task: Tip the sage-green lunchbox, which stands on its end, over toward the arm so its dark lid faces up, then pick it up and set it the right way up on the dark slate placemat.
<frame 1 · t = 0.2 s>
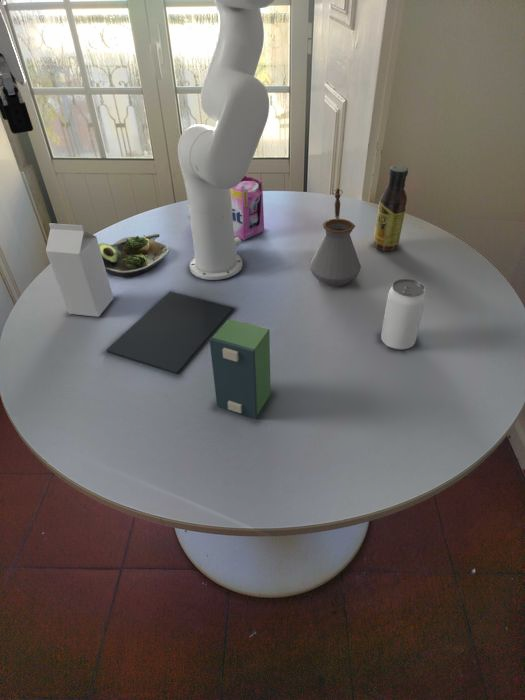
hand: (18, 124, 76), 37 cm above the table, tool pointing down, fingers open, 9 cm apart
sauce bottle: (385, 247, 118), on the table
lunchbox: (244, 400, 79), on the table
milk carton: (92, 307, 102), on the table
coffee pot: (333, 266, 112), on the table
can: (397, 340, 90), on the table
salad plate: (129, 260, 117), on the table
placemat: (173, 329, 94), on the table
gum box: (226, 224, 131), on the table
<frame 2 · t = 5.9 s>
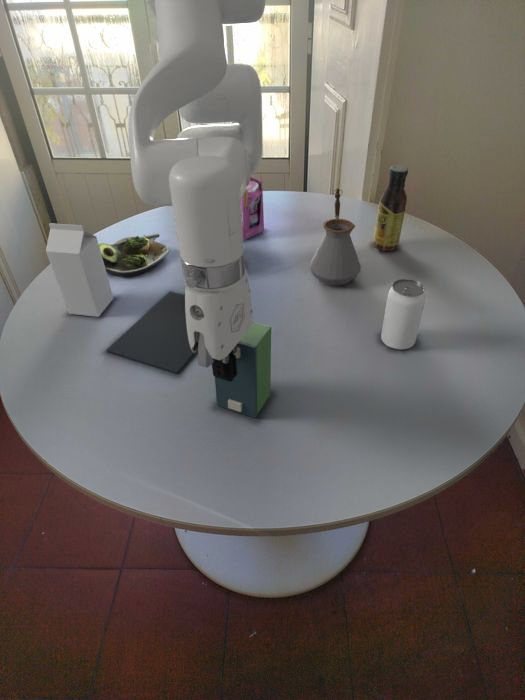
hand: (225, 375, 69), 10 cm above the table, tool pointing down, fingers closed
nothing on the table moved.
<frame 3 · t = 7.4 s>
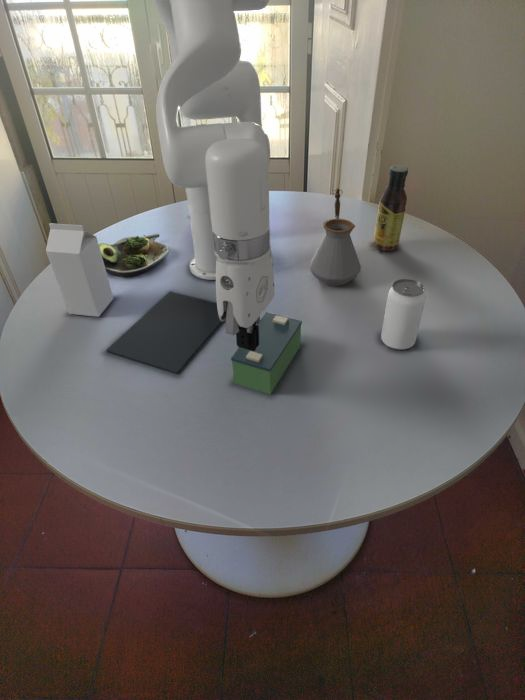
hand: (248, 345, 74), 10 cm above the table, tool pointing down, fingers closed
lunchbox: (251, 376, 79), point 3 cm above the table, tilted 90°
everything else where it was.
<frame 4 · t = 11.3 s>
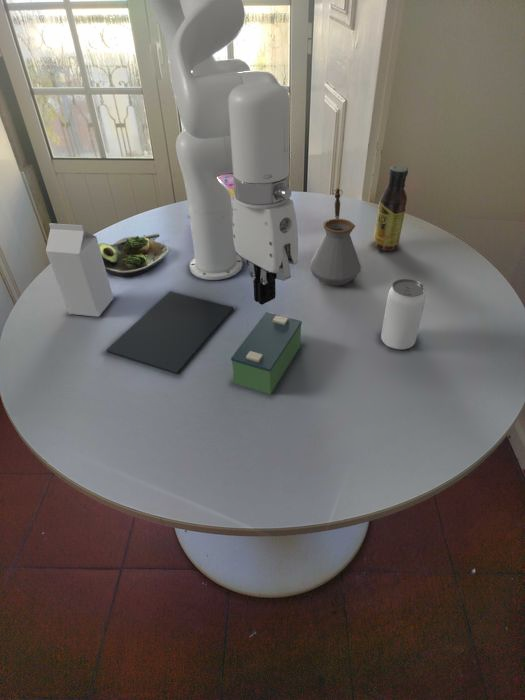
hand: (264, 299, 76), 15 cm above the table, tool pointing down, fingers closed
nothing on the table moved.
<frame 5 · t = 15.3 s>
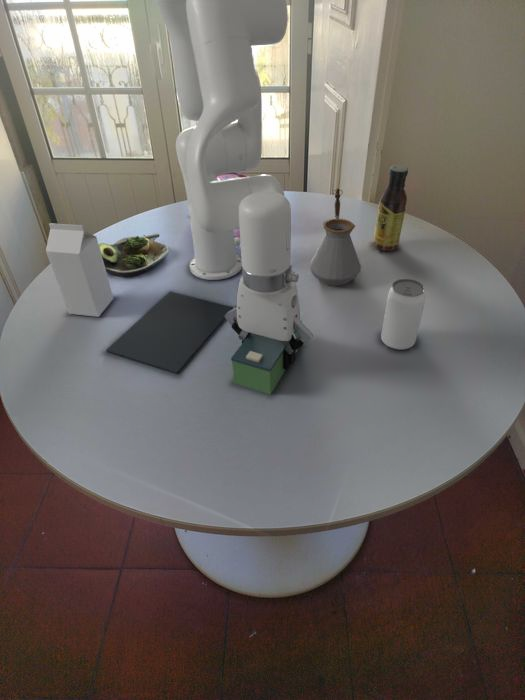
hand: (268, 358, 85), 1 cm above the table, tool pointing down, fingers closed on lunchbox, 7 cm apart
lunchbox: (251, 376, 79), point 3 cm above the table, tilted 90°, touching gripper
everything else where it was.
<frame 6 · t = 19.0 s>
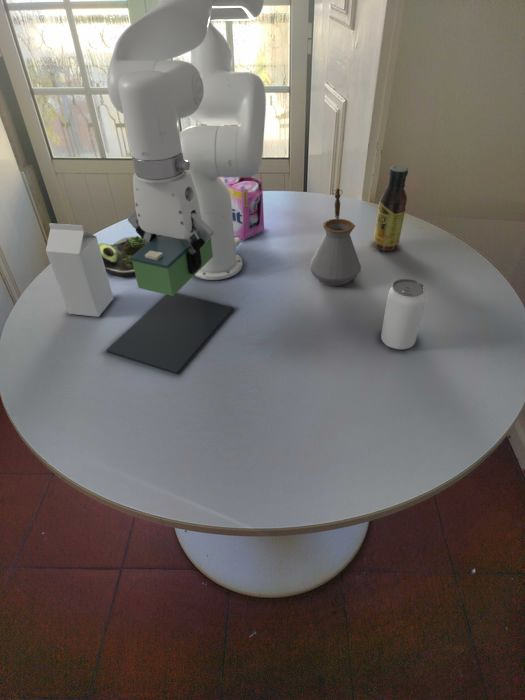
hand: (176, 265, 83), 15 cm above the table, tool pointing down, fingers closed on lunchbox, 7 cm apart
lunchbox: (152, 276, 77), point 17 cm above the table, tilted 89°, touching gripper
everything else where it was.
when the fingers open (2 cm above the table, at t = 23.0 s): lunchbox stays where it is, resting on placemat.
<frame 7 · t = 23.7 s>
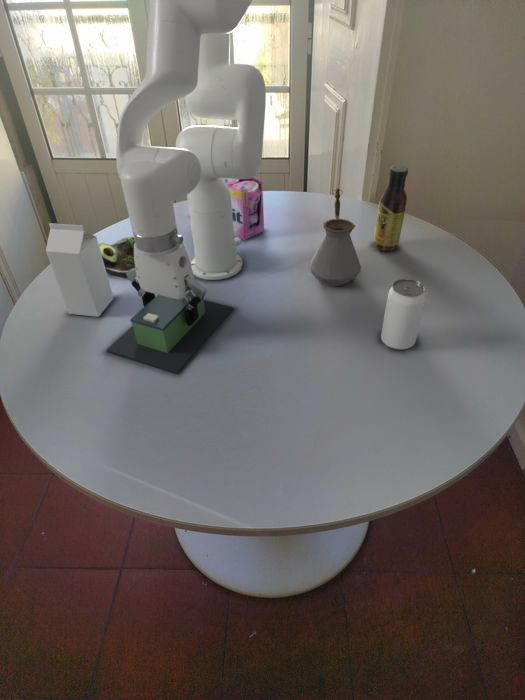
hand: (171, 316, 93), 3 cm above the table, tool pointing down, fingers open, 9 cm apart
lunchbox: (149, 336, 87), point 3 cm above the table, tilted 90°, touching placemat
everything else where it was.
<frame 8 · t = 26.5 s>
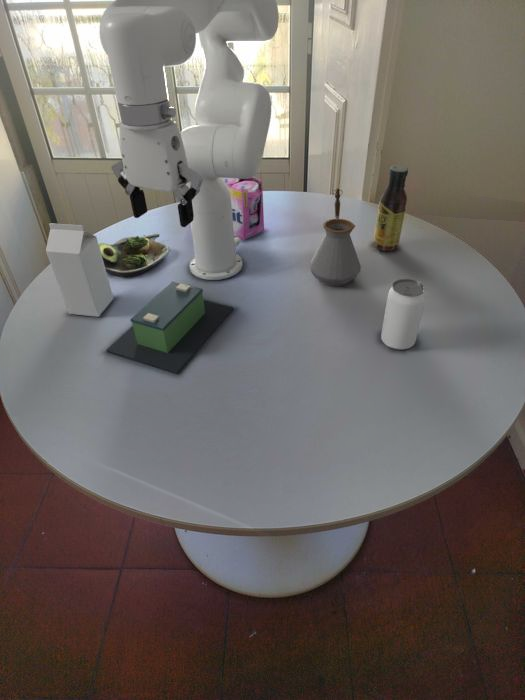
hand: (163, 219, 82), 22 cm above the table, tool pointing down, fingers open, 9 cm apart
nothing on the table moved.
at the end: lunchbox tilted 90°; lunchbox inside the target area on the placemat (0.7 cm from its centre), point 3.5 cm above the placemat's base; the gripper is holding nothing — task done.
